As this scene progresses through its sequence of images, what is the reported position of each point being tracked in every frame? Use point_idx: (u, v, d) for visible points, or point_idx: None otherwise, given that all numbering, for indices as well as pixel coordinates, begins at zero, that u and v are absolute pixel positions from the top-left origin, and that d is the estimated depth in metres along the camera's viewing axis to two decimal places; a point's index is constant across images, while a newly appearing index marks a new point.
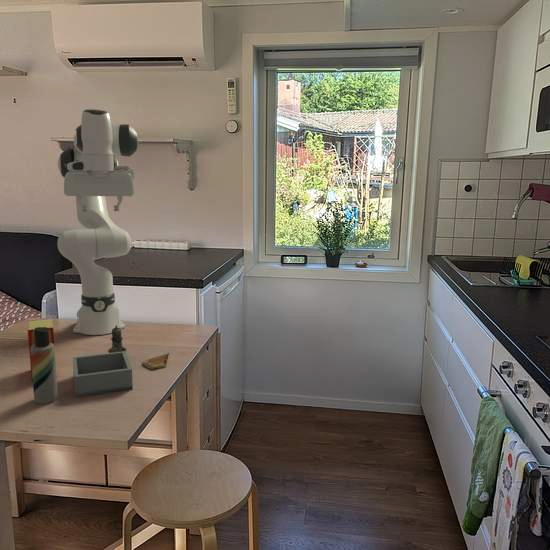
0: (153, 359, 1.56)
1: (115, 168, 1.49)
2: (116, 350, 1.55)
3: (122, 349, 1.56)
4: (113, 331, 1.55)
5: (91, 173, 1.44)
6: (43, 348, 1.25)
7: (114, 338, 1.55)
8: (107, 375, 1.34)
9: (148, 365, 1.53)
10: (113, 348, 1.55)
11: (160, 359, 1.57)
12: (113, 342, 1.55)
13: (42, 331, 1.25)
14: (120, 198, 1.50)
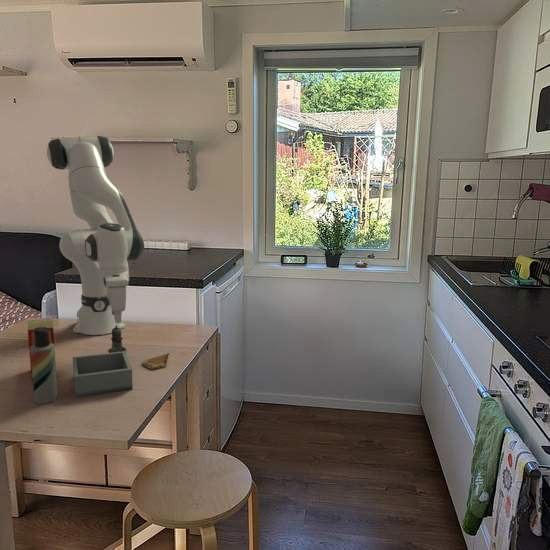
0: (153, 359, 1.56)
1: None
2: (116, 350, 1.55)
3: (122, 349, 1.56)
4: (113, 331, 1.55)
5: None
6: (43, 348, 1.25)
7: (114, 338, 1.55)
8: (107, 375, 1.34)
9: (148, 365, 1.53)
10: (113, 348, 1.55)
11: (159, 359, 1.57)
12: (113, 342, 1.55)
13: (42, 331, 1.25)
14: None
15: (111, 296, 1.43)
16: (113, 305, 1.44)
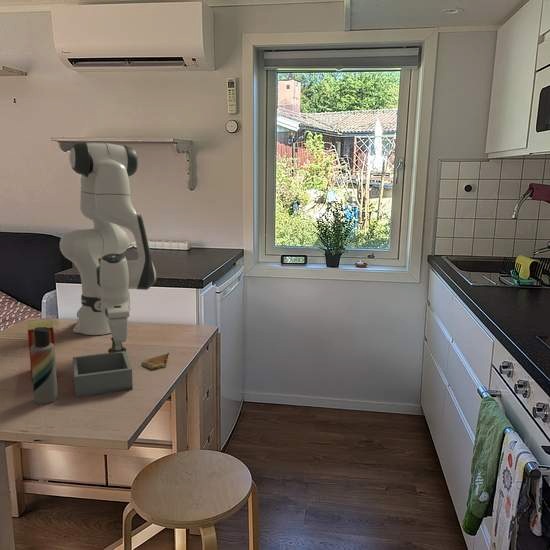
0: (153, 359, 1.56)
1: None
2: (116, 350, 1.55)
3: (122, 349, 1.56)
4: None
5: None
6: (43, 348, 1.25)
7: None
8: (107, 375, 1.34)
9: (148, 365, 1.53)
10: (113, 348, 1.55)
11: (159, 359, 1.57)
12: (113, 342, 1.55)
13: (42, 331, 1.25)
14: None
15: (112, 327, 1.46)
16: (114, 336, 1.46)
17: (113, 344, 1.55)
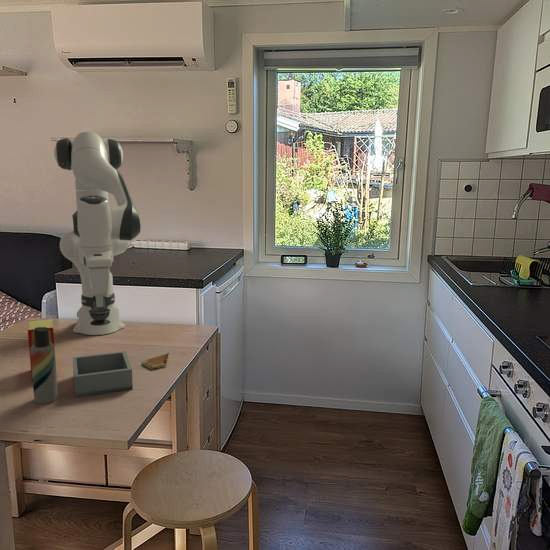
0: (153, 359, 1.56)
1: None
2: (98, 310, 1.35)
3: (105, 309, 1.36)
4: None
5: None
6: (43, 348, 1.25)
7: None
8: (107, 375, 1.34)
9: (148, 365, 1.53)
10: (95, 308, 1.35)
11: (159, 359, 1.57)
12: (94, 301, 1.35)
13: (42, 331, 1.25)
14: None
15: (92, 278, 1.25)
16: (94, 288, 1.25)
17: (94, 304, 1.35)
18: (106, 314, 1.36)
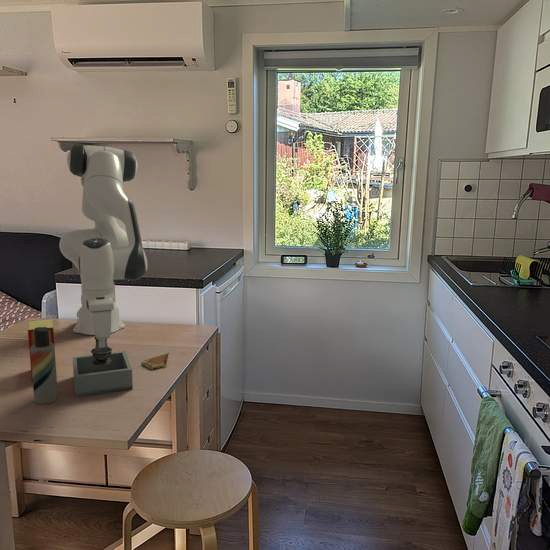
0: (153, 359, 1.56)
1: None
2: (100, 350, 1.37)
3: (107, 349, 1.38)
4: None
5: None
6: (43, 348, 1.25)
7: None
8: (107, 375, 1.34)
9: (148, 365, 1.53)
10: (97, 348, 1.37)
11: (159, 359, 1.57)
12: (97, 341, 1.37)
13: (42, 331, 1.25)
14: None
15: (94, 322, 1.27)
16: (97, 332, 1.28)
17: (97, 344, 1.37)
18: (108, 354, 1.38)
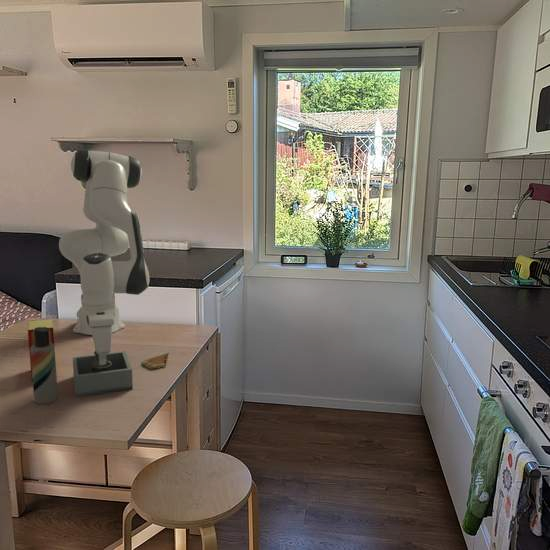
0: (153, 359, 1.56)
1: None
2: (100, 365, 1.40)
3: (106, 363, 1.42)
4: None
5: None
6: (43, 348, 1.25)
7: None
8: (107, 375, 1.34)
9: (148, 365, 1.53)
10: (96, 363, 1.41)
11: (159, 359, 1.57)
12: (96, 356, 1.40)
13: (42, 331, 1.25)
14: None
15: (94, 337, 1.28)
16: (97, 347, 1.29)
17: (96, 358, 1.41)
18: (107, 368, 1.41)
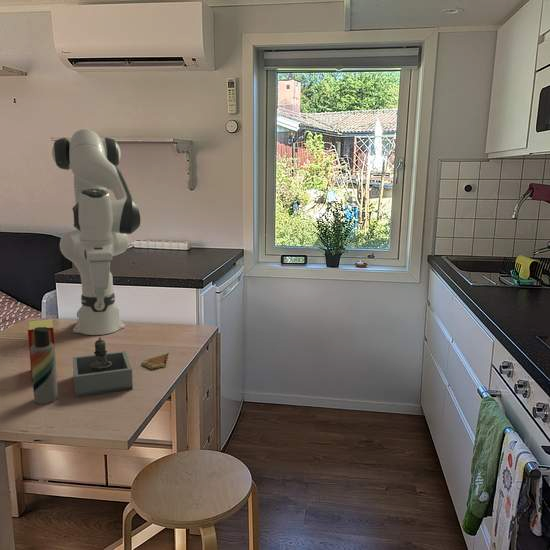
0: (153, 359, 1.56)
1: None
2: (100, 365, 1.41)
3: (106, 363, 1.42)
4: (96, 344, 1.40)
5: None
6: (43, 348, 1.25)
7: (97, 352, 1.40)
8: (107, 375, 1.34)
9: (148, 365, 1.53)
10: (96, 363, 1.41)
11: (159, 359, 1.57)
12: (96, 356, 1.41)
13: (42, 331, 1.25)
14: None
15: (92, 271, 1.26)
16: (94, 282, 1.26)
17: (96, 358, 1.41)
18: (107, 368, 1.42)
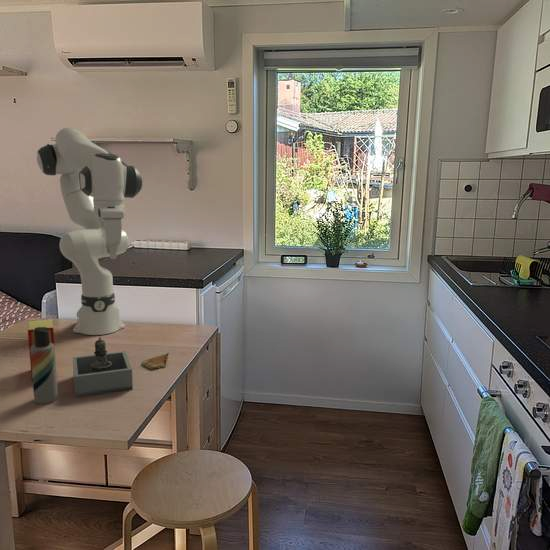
0: (152, 359, 1.56)
1: None
2: (100, 365, 1.41)
3: (106, 363, 1.42)
4: (96, 344, 1.40)
5: None
6: (43, 348, 1.25)
7: (97, 352, 1.40)
8: (107, 375, 1.34)
9: (148, 365, 1.53)
10: (96, 363, 1.41)
11: (159, 359, 1.57)
12: (96, 356, 1.41)
13: (42, 331, 1.25)
14: None
15: (106, 228, 1.35)
16: (108, 237, 1.36)
17: (96, 358, 1.41)
18: (107, 368, 1.42)
